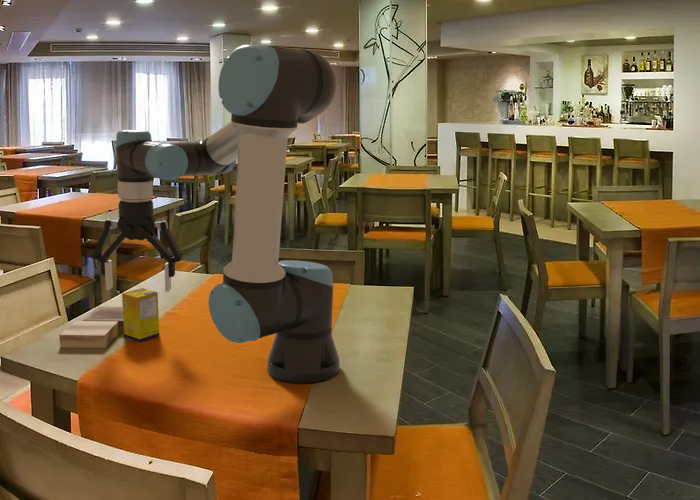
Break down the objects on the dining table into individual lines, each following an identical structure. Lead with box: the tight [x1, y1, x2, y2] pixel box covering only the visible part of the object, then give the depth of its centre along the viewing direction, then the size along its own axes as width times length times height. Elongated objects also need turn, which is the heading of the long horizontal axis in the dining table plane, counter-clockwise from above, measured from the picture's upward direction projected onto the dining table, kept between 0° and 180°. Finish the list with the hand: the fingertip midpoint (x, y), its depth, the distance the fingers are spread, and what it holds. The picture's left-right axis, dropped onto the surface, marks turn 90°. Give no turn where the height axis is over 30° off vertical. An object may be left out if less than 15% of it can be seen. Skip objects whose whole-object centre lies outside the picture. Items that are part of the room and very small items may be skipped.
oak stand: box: [58, 320, 120, 349], centre depth 156 cm, size 10×10×3 cm
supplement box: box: [121, 287, 160, 343], centre depth 158 cm, size 6×6×11 cm
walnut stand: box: [82, 306, 124, 334], centre depth 166 cm, size 11×11×3 cm
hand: (138, 289), depth 157 cm, fingers open, 13 cm apart
